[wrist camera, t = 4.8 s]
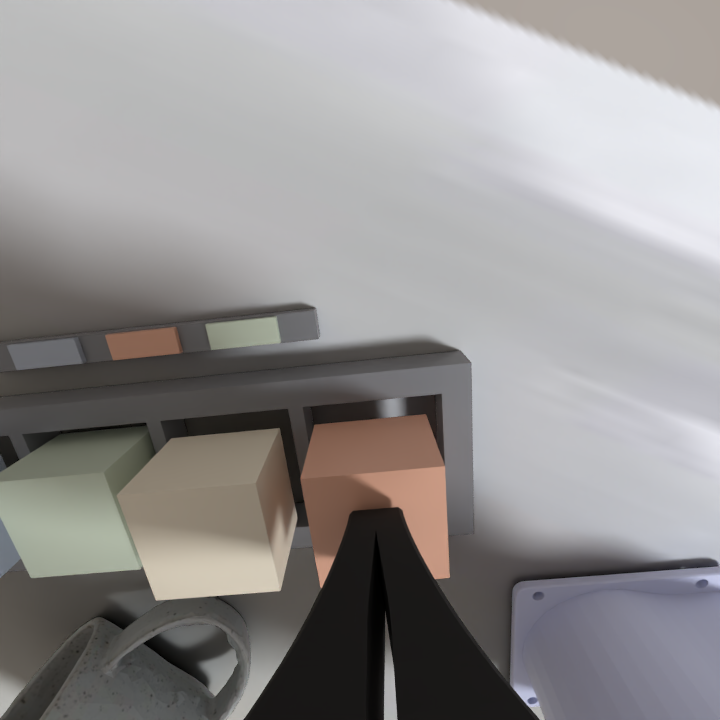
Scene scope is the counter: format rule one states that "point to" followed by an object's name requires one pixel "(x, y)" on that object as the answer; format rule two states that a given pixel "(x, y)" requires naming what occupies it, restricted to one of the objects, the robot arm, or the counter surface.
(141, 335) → the strip
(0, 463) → the slate key
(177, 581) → the sand key
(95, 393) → the keypad base
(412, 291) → the counter surface
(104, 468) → the sage key
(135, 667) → the ceramic mug
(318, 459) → the terracotta key
